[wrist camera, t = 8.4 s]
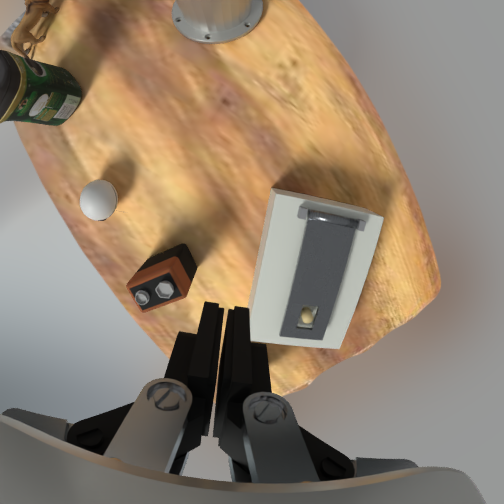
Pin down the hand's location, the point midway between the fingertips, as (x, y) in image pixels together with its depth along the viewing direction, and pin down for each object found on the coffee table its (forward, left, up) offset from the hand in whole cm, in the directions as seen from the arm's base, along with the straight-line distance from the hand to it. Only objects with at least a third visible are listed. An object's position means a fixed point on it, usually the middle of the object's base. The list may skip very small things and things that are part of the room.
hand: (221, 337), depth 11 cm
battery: (+10, -8, -29) cm, 32 cm away
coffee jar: (-13, -30, -29) cm, 44 cm away
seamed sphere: (+2, -18, -29) cm, 35 cm away
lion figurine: (-29, -40, -29) cm, 57 cm away
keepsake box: (+7, +11, -29) cm, 32 cm away
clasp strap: (+6, +11, -23) cm, 26 cm away
